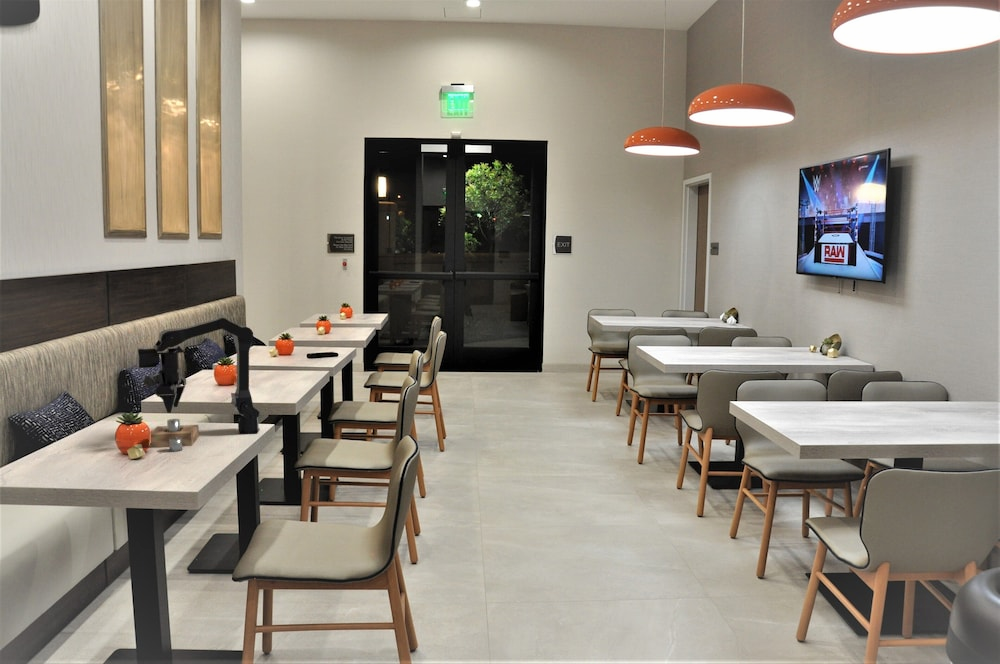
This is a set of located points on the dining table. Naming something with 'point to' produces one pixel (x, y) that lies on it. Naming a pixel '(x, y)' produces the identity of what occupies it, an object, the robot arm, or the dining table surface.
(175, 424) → the tall pin
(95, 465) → the dining table surface
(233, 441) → the dining table surface
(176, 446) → the short pin
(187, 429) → the hole block
